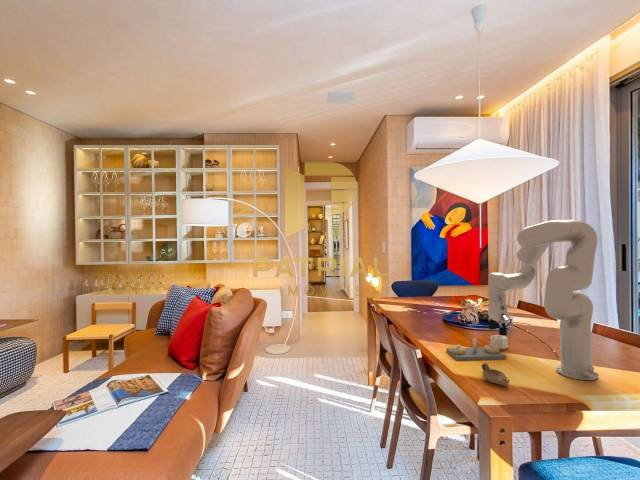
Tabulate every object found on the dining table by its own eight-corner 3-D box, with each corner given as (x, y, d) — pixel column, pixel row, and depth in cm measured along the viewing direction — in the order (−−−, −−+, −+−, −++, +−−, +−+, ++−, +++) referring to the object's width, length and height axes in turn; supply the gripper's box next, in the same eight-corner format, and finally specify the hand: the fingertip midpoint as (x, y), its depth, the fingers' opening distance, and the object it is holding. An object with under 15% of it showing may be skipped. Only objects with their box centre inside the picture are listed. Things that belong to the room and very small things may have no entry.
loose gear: (511, 349, 155) (510, 338, 155) (495, 349, 155) (495, 339, 155) (502, 344, 162) (502, 334, 162) (488, 344, 162) (487, 334, 162)
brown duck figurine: (515, 388, 115) (514, 374, 115) (495, 389, 115) (494, 375, 115) (492, 373, 128) (492, 361, 128) (474, 374, 128) (474, 362, 128)
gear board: (506, 359, 142) (505, 342, 142) (456, 360, 143) (456, 343, 143) (492, 349, 154) (491, 334, 154) (446, 351, 155) (445, 335, 155)
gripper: (515, 301, 150) (515, 337, 150) (495, 294, 167) (495, 326, 168) (499, 301, 150) (499, 338, 150) (480, 294, 167) (481, 327, 168)
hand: (497, 332), depth 159 cm, fingers open, 9 cm apart
